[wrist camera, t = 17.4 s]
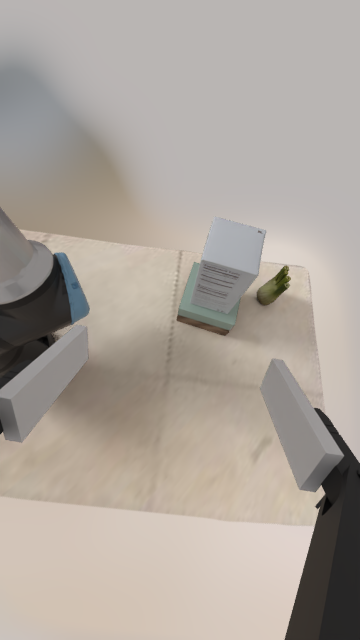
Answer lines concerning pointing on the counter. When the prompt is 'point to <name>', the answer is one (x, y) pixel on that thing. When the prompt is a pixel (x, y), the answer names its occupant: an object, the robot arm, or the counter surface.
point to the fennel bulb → (274, 287)
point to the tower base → (202, 325)
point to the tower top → (204, 313)
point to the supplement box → (227, 264)
